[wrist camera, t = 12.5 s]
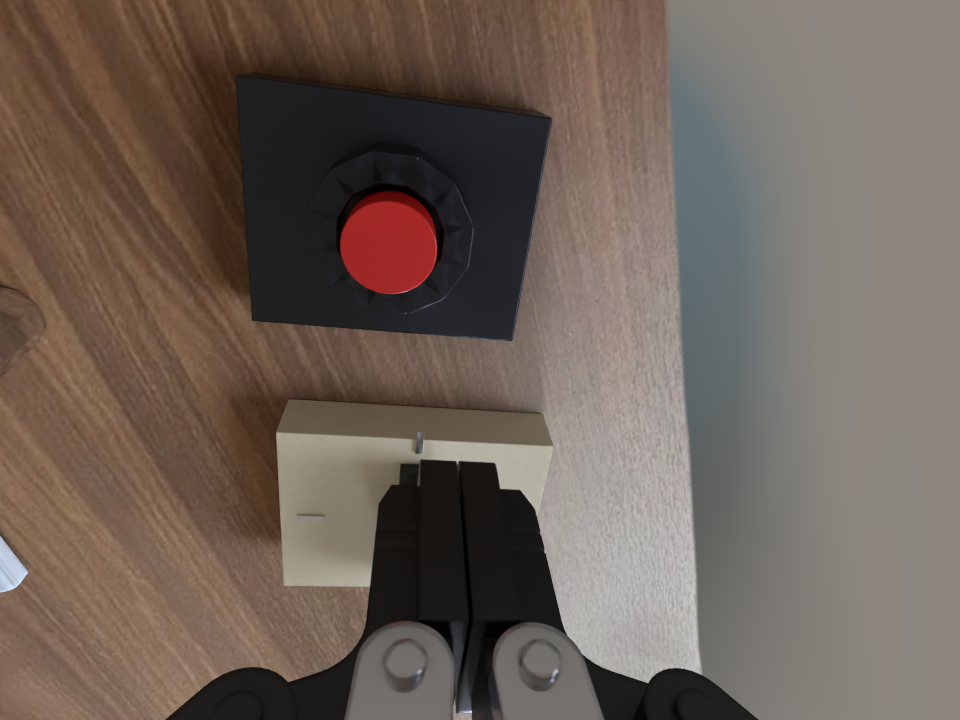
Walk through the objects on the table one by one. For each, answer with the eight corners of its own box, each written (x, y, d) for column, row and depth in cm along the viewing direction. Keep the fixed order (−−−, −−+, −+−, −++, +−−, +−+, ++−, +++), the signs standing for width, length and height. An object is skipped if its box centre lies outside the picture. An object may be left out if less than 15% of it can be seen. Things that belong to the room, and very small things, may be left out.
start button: (440, 195, 22) (441, 207, 20) (431, 282, 24) (432, 298, 22) (346, 184, 21) (340, 195, 20) (344, 274, 23) (339, 290, 22)
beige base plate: (545, 404, 32) (557, 439, 29) (511, 557, 37) (518, 597, 35) (288, 389, 30) (274, 424, 27) (294, 552, 35) (283, 595, 33)
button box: (542, 112, 24) (562, 123, 21) (506, 322, 29) (518, 360, 25) (250, 71, 22) (219, 76, 19) (263, 302, 27) (240, 339, 24)
